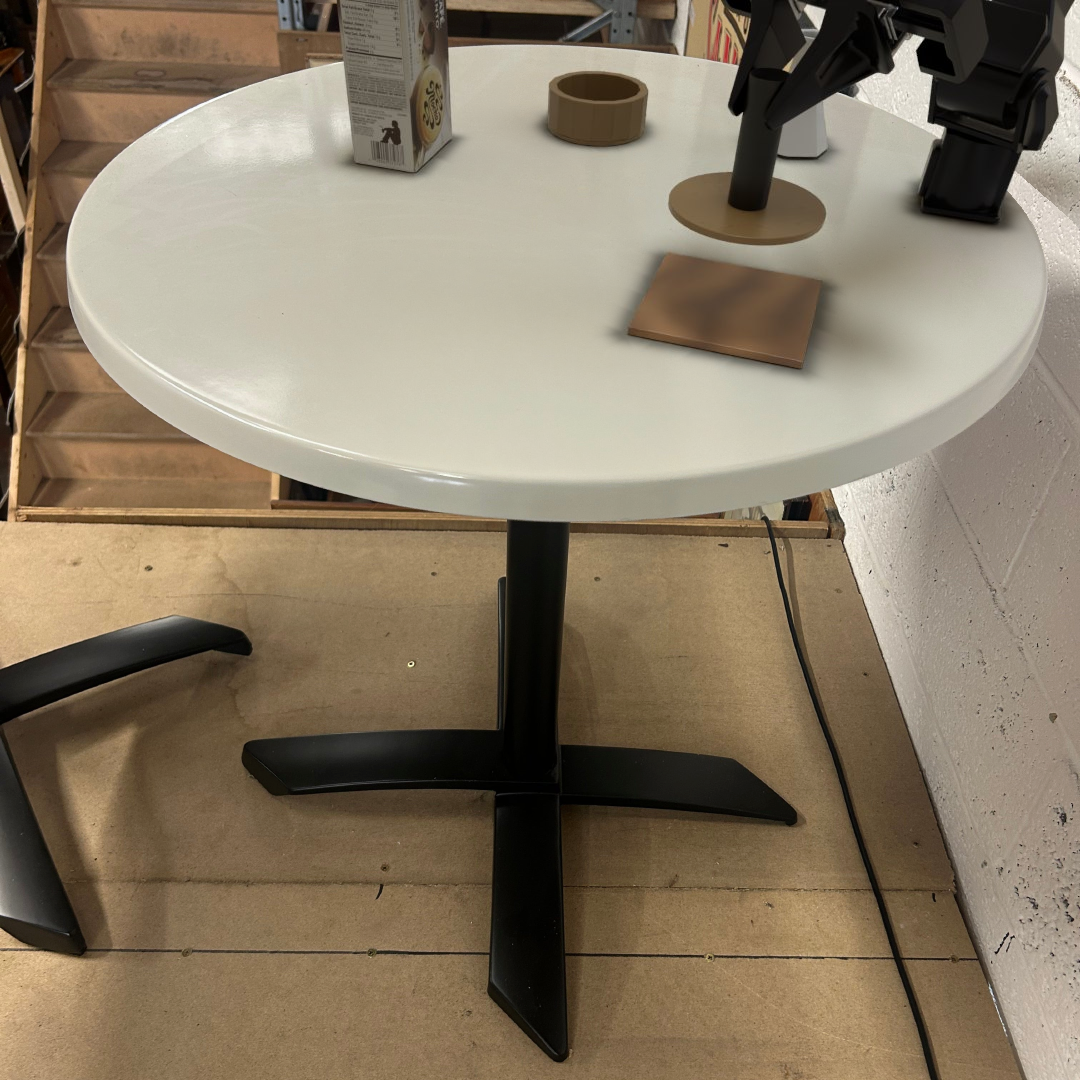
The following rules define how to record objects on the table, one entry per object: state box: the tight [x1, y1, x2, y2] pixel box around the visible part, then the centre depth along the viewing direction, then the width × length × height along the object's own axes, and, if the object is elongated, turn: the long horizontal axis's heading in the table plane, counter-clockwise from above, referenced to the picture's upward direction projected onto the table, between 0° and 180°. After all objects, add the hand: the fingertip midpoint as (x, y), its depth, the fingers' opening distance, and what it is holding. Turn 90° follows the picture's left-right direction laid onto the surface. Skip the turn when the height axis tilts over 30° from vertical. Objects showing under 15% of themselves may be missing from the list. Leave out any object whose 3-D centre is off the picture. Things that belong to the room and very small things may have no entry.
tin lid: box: [667, 68, 827, 247], centre depth 59 cm, size 10×10×9 cm
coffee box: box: [336, 0, 453, 173], centre depth 80 cm, size 9×6×16 cm
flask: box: [777, 28, 829, 158], centre depth 86 cm, size 7×7×10 cm
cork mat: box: [627, 252, 823, 369], centre depth 66 cm, size 12×12×1 cm
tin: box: [547, 70, 649, 147], centre depth 90 cm, size 10×10×4 cm
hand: (749, 118), depth 56 cm, fingers closed on tin lid, 2 cm apart
